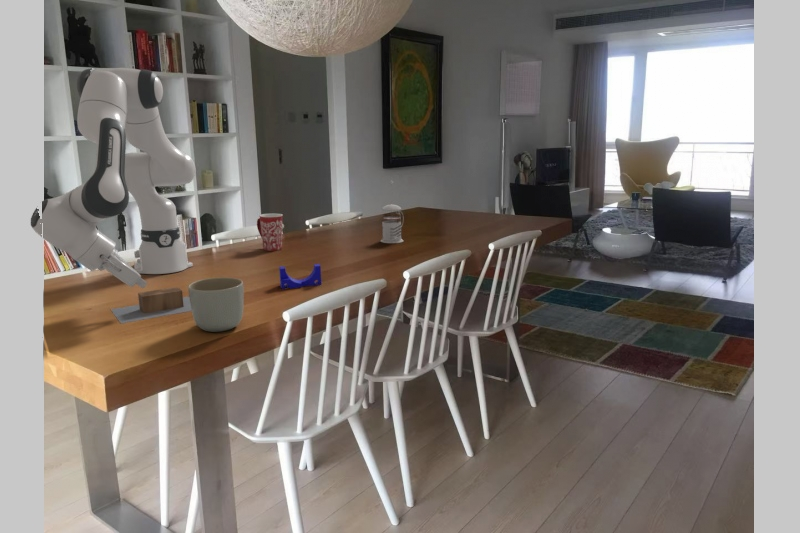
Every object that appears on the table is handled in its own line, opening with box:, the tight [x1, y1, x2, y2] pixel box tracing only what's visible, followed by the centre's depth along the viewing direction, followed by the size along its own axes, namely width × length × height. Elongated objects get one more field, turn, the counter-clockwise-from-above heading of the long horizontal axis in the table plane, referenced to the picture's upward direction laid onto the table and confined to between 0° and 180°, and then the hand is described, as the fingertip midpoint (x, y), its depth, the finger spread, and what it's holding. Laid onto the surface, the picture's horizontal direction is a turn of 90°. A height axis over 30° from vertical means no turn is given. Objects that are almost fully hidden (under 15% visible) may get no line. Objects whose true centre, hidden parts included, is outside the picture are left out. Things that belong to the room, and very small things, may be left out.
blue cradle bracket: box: [278, 263, 322, 290], centre depth 177 cm, size 12×4×6 cm, turn 106°
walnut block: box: [137, 286, 184, 314], centre depth 154 cm, size 4×4×10 cm
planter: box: [187, 276, 244, 333], centre depth 140 cm, size 12×12×11 cm
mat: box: [110, 295, 192, 324], centre depth 155 cm, size 14×22×1 cm, turn 125°
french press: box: [380, 180, 405, 244], centre depth 243 cm, size 10×12×25 cm
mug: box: [256, 212, 284, 252], centre depth 230 cm, size 13×9×14 cm
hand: (144, 284), depth 151 cm, fingers closed
